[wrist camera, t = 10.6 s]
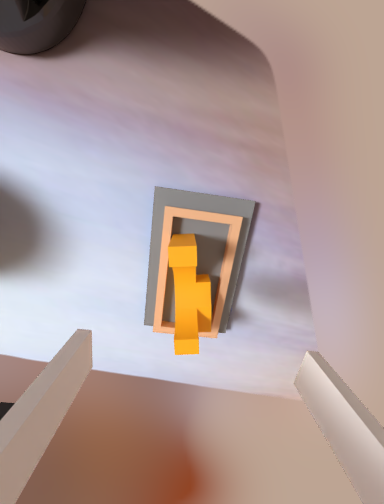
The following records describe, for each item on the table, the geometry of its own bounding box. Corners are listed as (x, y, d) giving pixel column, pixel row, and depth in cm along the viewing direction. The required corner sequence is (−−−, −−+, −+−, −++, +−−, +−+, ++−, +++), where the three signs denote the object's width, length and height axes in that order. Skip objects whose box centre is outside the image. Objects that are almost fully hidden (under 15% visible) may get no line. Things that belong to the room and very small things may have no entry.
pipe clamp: (208, 315, 25) (215, 353, 19) (178, 317, 25) (175, 354, 19) (208, 232, 22) (216, 245, 16) (173, 234, 22) (167, 246, 16)
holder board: (156, 186, 21) (152, 185, 19) (252, 201, 22) (259, 201, 20) (145, 320, 26) (141, 330, 24) (224, 328, 27) (227, 339, 25)
